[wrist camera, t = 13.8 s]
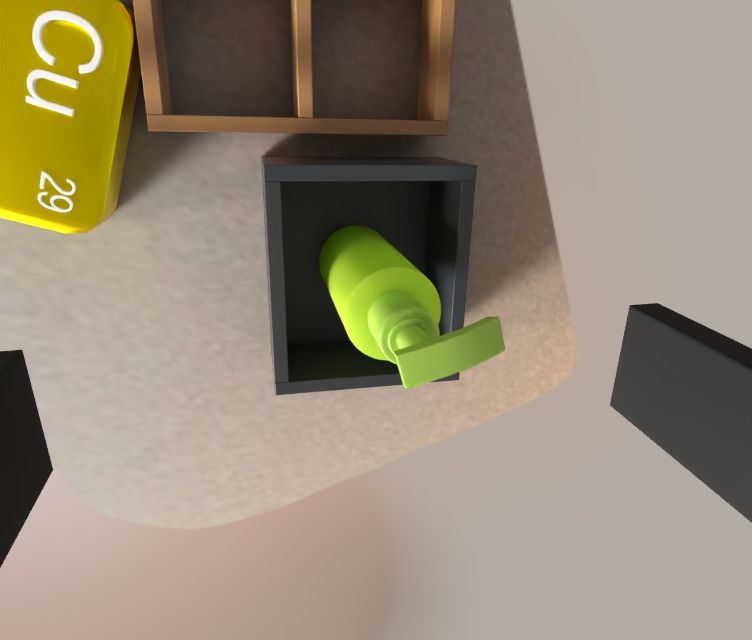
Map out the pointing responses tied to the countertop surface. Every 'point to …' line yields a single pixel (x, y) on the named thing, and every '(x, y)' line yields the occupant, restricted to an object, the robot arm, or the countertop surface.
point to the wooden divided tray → (303, 80)
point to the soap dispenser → (398, 309)
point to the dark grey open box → (365, 208)
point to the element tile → (65, 109)
